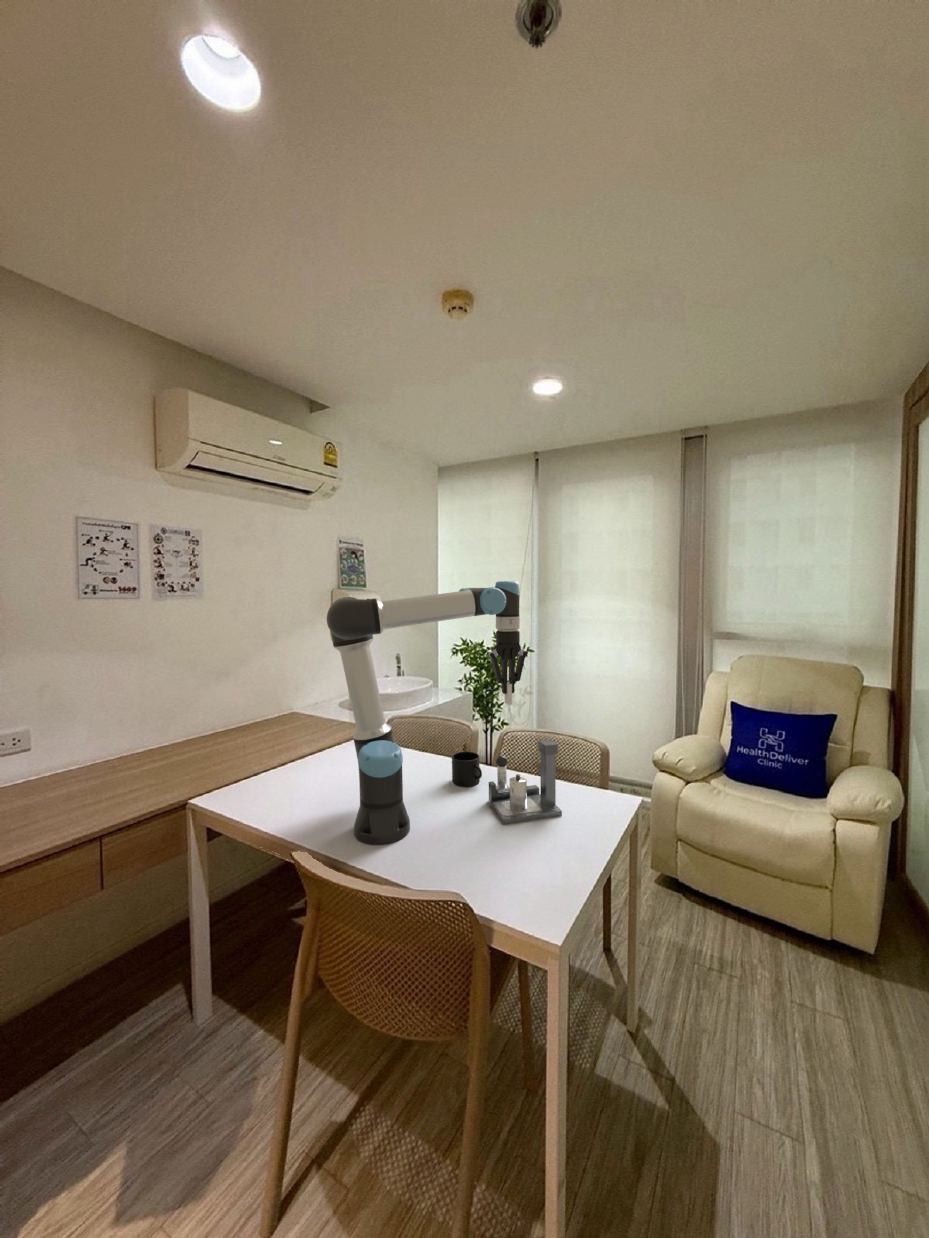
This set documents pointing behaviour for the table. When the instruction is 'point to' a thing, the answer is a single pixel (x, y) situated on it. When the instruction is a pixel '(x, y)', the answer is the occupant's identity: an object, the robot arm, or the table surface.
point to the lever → (502, 775)
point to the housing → (518, 793)
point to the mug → (466, 769)
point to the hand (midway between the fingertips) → (508, 703)
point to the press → (531, 792)
